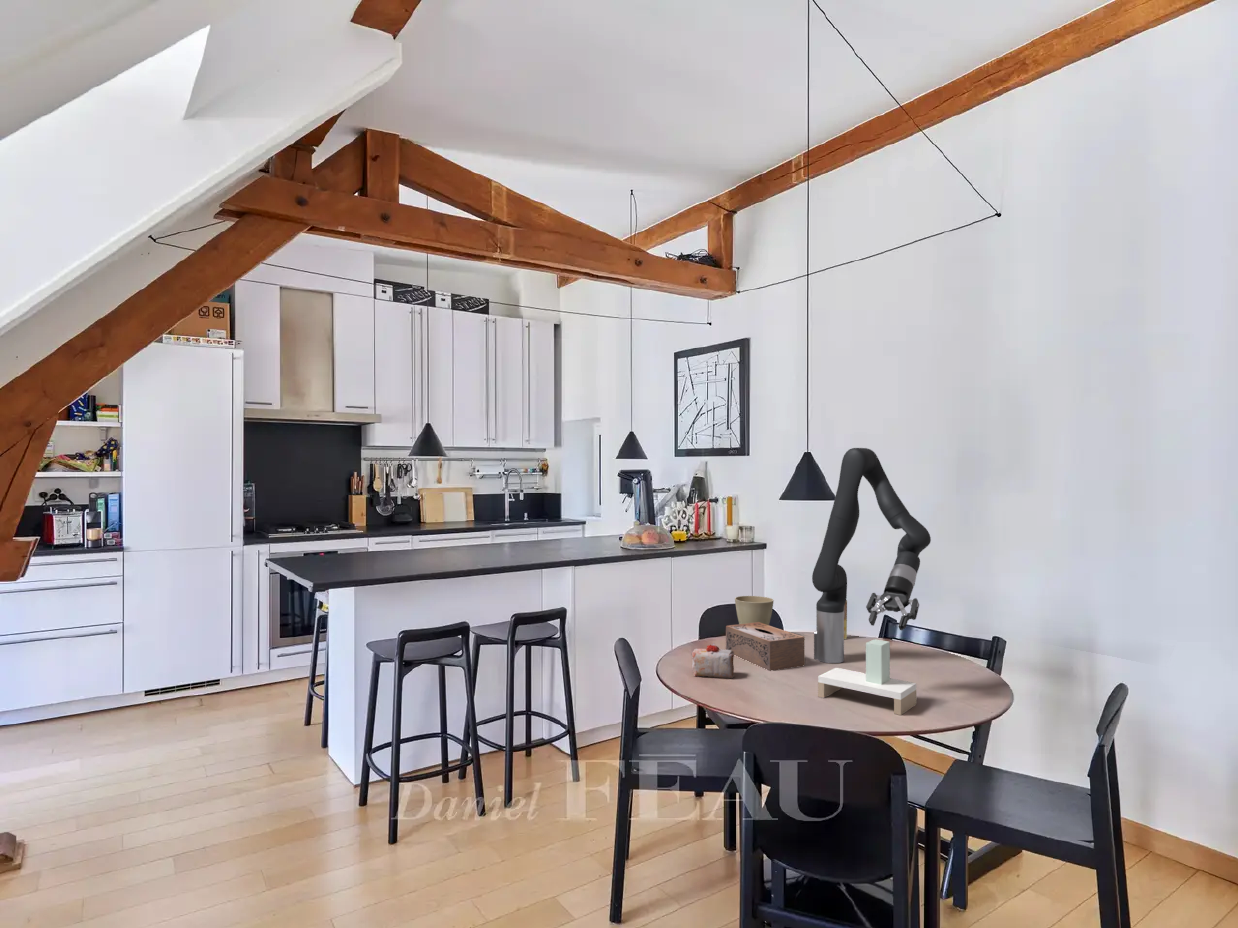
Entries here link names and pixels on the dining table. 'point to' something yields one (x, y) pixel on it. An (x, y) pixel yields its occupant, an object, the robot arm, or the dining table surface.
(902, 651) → the dining table surface
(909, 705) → the shelf
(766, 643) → the tissue box cover
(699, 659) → the food item
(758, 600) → the plant pot
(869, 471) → the robot arm
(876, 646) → the pale green rectangular block
